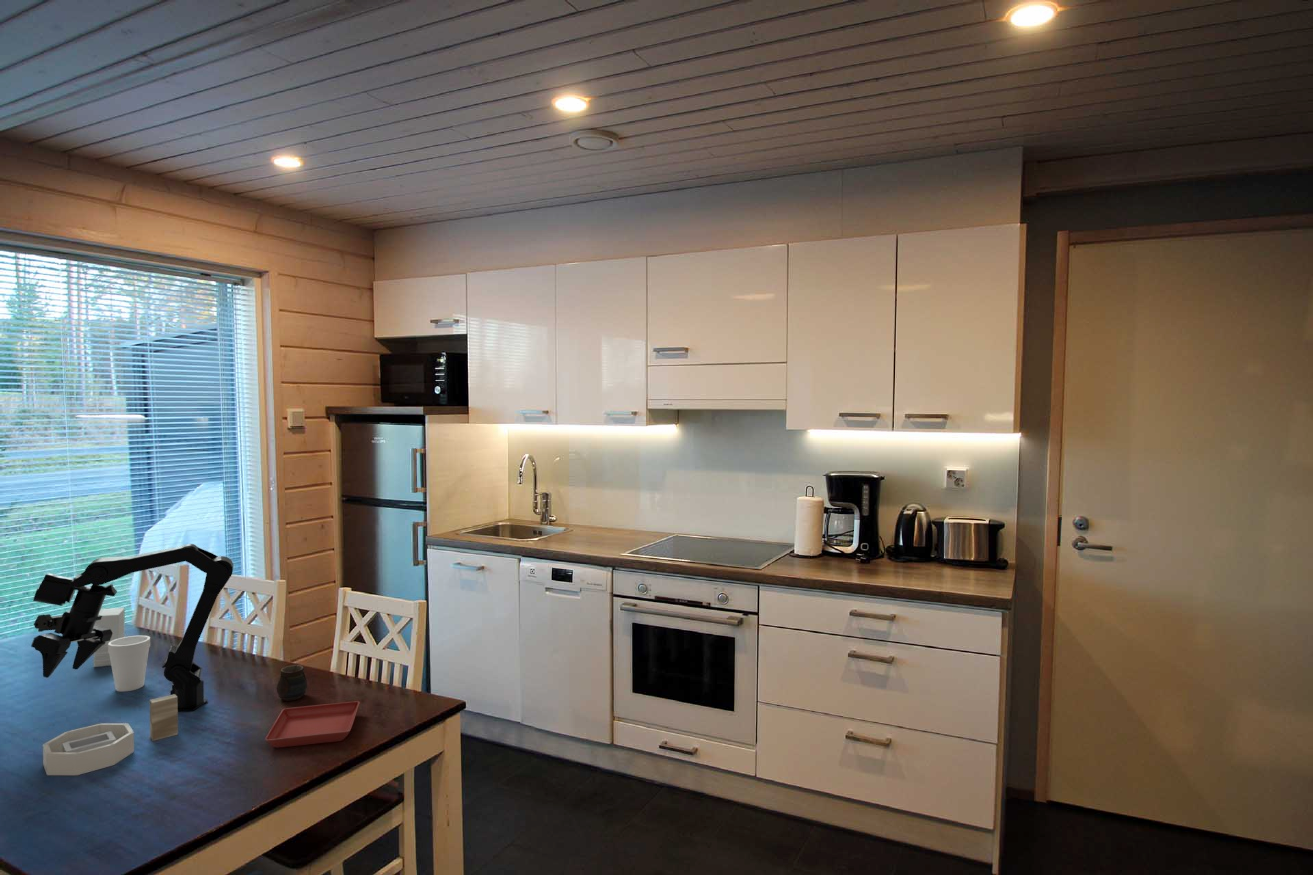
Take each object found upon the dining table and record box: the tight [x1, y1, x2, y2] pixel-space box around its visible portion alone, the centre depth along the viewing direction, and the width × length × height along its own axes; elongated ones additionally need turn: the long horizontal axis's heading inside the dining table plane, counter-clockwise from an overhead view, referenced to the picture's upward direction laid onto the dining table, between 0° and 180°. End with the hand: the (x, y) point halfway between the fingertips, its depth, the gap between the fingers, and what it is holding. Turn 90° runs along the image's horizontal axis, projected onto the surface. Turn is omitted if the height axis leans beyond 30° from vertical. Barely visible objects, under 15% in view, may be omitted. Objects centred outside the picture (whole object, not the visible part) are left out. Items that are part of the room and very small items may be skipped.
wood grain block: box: [149, 694, 179, 742], centre depth 170 cm, size 2×5×9 cm, turn 136°
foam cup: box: [108, 635, 151, 692], centre depth 199 cm, size 10×9×13 cm
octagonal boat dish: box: [42, 722, 135, 776], centre depth 158 cm, size 15×15×4 cm
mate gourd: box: [276, 664, 308, 702], centre depth 193 cm, size 7×8×10 cm
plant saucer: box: [264, 700, 360, 748], centre depth 173 cm, size 18×18×3 cm
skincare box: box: [93, 606, 126, 668], centre depth 218 cm, size 8×7×16 cm
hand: (60, 672), depth 174 cm, fingers open, 9 cm apart
